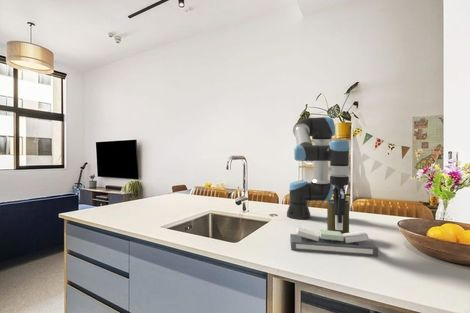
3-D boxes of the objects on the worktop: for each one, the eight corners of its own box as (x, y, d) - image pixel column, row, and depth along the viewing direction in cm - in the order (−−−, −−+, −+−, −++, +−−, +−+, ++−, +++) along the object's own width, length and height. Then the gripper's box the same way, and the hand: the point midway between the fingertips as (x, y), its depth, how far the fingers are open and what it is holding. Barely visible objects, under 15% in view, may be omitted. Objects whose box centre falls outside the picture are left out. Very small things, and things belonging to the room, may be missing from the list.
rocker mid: (318, 233, 106) (318, 229, 106) (339, 236, 104) (340, 231, 104) (320, 238, 100) (321, 233, 100) (343, 241, 98) (343, 236, 98)
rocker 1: (296, 230, 108) (297, 226, 108) (316, 236, 106) (317, 232, 106) (297, 235, 102) (298, 230, 102) (318, 241, 100) (319, 236, 100)
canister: (336, 240, 111) (336, 198, 111) (322, 233, 121) (322, 195, 121) (355, 238, 114) (355, 197, 114) (340, 231, 124) (340, 194, 124)
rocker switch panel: (290, 241, 110) (290, 231, 110) (368, 246, 103) (368, 236, 103) (291, 250, 100) (291, 239, 100) (378, 256, 93) (378, 245, 93)
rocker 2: (342, 238, 104) (341, 233, 104) (364, 234, 102) (362, 230, 102) (346, 243, 98) (345, 238, 98) (369, 239, 96) (367, 234, 96)
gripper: (327, 174, 108) (327, 224, 109) (333, 177, 95) (333, 234, 96) (344, 174, 107) (344, 225, 107) (353, 177, 94) (352, 235, 94)
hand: (339, 229), depth 102 cm, fingers closed
